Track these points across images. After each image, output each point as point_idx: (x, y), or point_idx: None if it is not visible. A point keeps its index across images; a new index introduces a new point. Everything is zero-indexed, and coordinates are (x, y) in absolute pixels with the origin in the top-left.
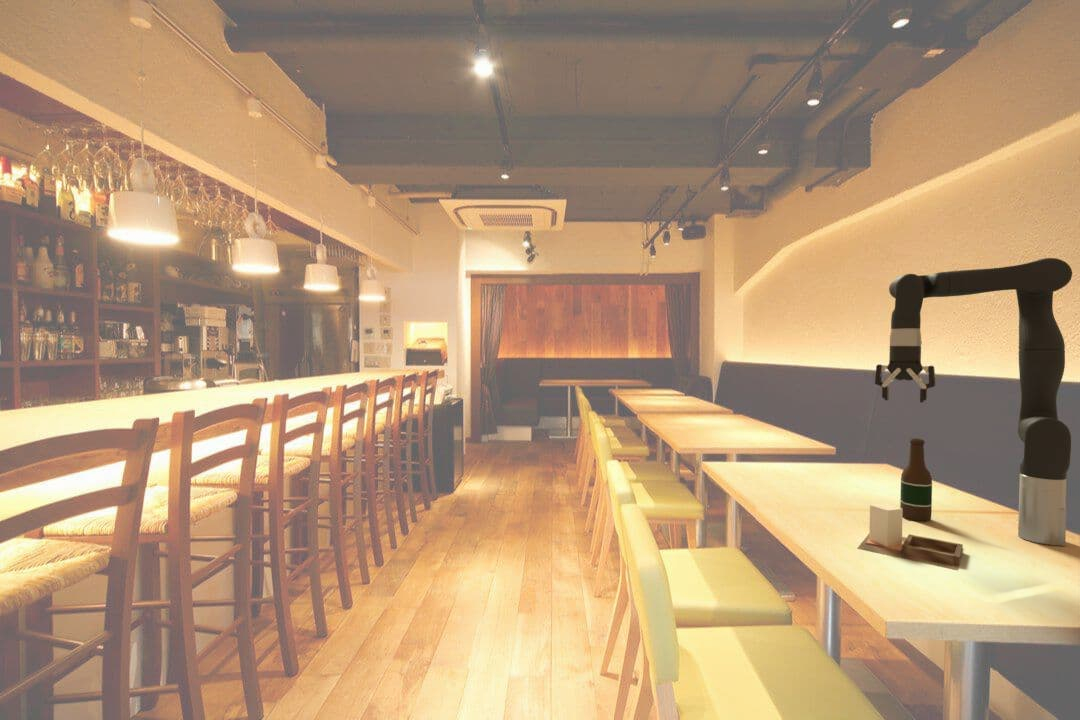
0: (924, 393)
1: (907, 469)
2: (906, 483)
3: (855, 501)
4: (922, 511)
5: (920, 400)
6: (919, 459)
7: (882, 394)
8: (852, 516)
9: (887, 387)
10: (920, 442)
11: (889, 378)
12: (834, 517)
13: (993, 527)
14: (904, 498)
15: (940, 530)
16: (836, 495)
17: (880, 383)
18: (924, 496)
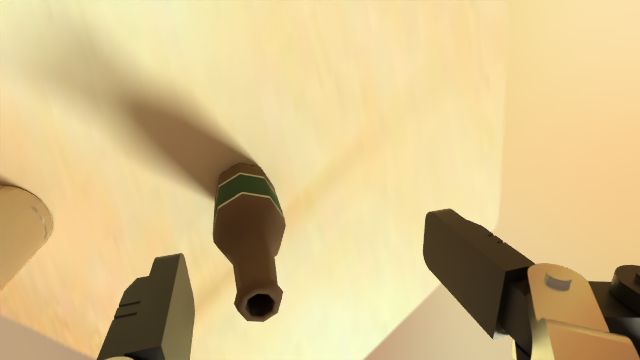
0: (127, 329)
1: (270, 223)
2: (265, 196)
3: (365, 222)
4: (226, 177)
5: (175, 258)
6: (242, 250)
7: (491, 236)
8: (344, 97)
9: (505, 306)
10: (243, 287)
11: (606, 346)
12: (371, 57)
13: (110, 241)
14: (265, 181)
15: (178, 129)
16: (403, 238)
17: (609, 298)
18: (222, 192)
